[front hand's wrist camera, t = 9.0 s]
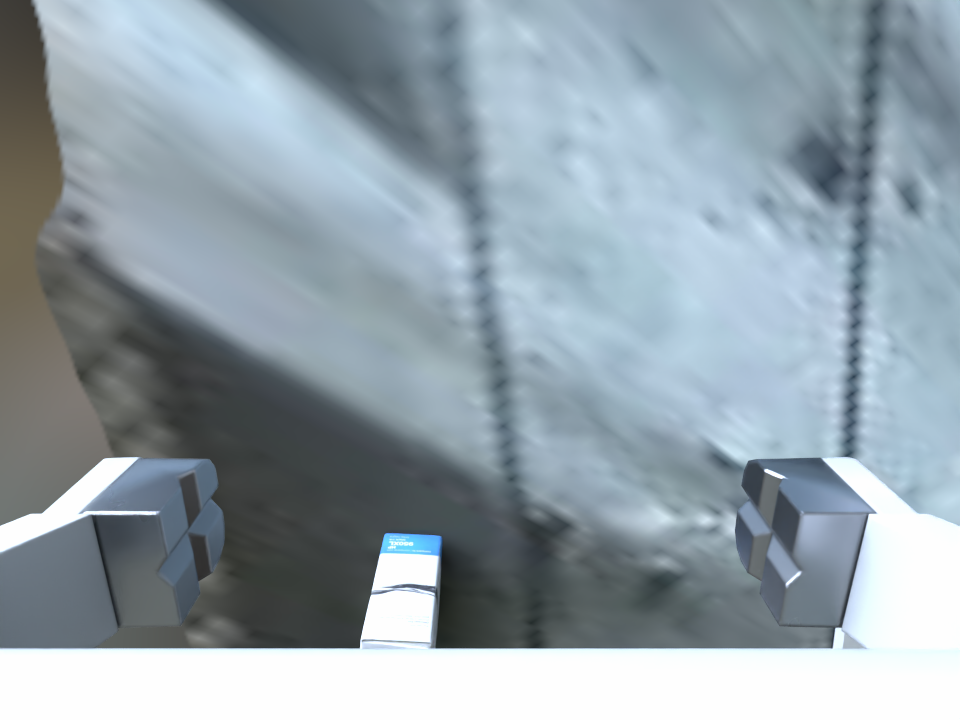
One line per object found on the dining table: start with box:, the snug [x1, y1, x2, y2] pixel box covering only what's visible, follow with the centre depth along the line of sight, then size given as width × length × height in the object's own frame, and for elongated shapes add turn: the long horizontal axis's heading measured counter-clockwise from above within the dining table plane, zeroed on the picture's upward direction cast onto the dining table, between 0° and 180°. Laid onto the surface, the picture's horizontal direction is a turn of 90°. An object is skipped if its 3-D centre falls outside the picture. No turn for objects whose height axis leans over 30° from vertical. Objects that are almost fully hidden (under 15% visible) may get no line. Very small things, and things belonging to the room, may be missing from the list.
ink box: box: [360, 534, 442, 649], centre depth 49 cm, size 8×5×12 cm, turn 176°
